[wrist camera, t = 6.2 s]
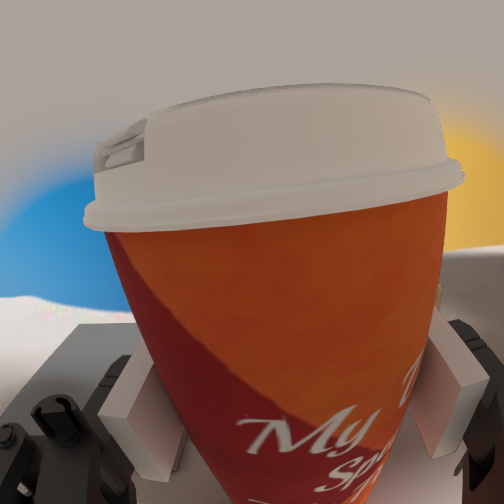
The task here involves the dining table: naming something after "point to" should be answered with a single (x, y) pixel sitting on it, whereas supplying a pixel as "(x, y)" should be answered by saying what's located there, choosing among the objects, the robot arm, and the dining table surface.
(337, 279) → the paper cup
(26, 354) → the dining table surface
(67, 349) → the mat
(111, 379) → the robot arm
